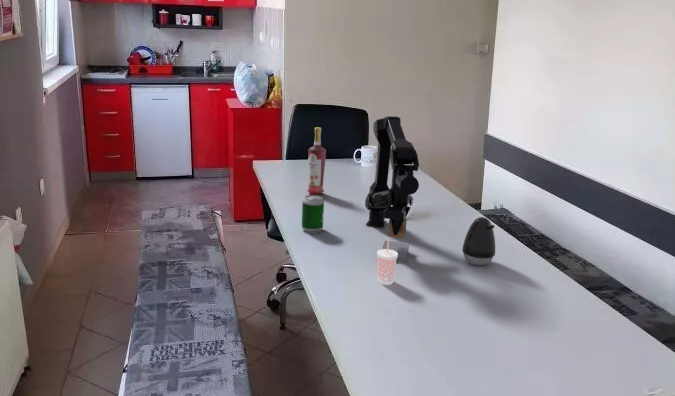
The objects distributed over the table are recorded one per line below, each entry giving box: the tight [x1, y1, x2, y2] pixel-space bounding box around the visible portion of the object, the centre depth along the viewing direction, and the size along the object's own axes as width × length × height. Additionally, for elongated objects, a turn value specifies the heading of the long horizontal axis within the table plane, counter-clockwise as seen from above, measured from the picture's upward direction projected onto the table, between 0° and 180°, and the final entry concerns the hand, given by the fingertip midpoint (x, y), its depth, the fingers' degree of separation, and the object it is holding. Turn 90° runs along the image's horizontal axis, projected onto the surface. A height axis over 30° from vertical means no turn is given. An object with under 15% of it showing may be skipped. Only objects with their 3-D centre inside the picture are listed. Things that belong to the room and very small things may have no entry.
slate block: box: [382, 240, 410, 262], centre depth 203 cm, size 8×8×4 cm
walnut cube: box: [386, 218, 408, 240], centre depth 201 cm, size 5×5×5 cm
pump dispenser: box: [461, 216, 496, 267], centre depth 199 cm, size 10×10×15 cm
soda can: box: [301, 194, 325, 234], centre depth 221 cm, size 8×8×12 cm
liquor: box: [307, 126, 327, 196], centre depth 260 cm, size 7×7×28 cm
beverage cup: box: [376, 236, 398, 286], centre depth 182 cm, size 6×6×14 cm
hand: (396, 232), depth 202 cm, fingers closed on walnut cube, 5 cm apart
